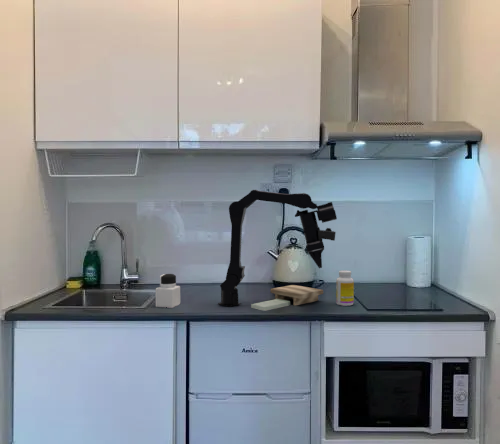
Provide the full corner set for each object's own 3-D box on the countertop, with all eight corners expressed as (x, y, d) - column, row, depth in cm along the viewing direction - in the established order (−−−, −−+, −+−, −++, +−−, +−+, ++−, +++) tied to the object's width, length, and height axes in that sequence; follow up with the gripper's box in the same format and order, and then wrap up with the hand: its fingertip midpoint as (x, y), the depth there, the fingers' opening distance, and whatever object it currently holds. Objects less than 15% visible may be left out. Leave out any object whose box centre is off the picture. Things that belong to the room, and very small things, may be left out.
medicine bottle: (180, 304, 187) (180, 273, 187) (172, 308, 180) (172, 276, 180) (163, 303, 189) (163, 272, 189) (155, 306, 182) (155, 275, 182)
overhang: (300, 306, 183) (300, 294, 183) (270, 300, 195) (270, 288, 194) (323, 301, 192) (323, 289, 192) (292, 295, 204) (293, 284, 204)
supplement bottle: (357, 305, 186) (357, 271, 185) (344, 306, 182) (344, 273, 182) (345, 301, 192) (346, 269, 191) (332, 303, 188) (332, 270, 188)
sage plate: (264, 311, 176) (264, 306, 176) (251, 308, 181) (251, 304, 181) (290, 305, 186) (290, 301, 185) (276, 302, 191) (276, 298, 191)
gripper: (332, 221, 171) (343, 264, 171) (330, 219, 189) (339, 258, 190) (301, 229, 172) (312, 271, 173) (302, 226, 191) (312, 264, 191)
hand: (320, 266), depth 181 cm, fingers open, 9 cm apart
